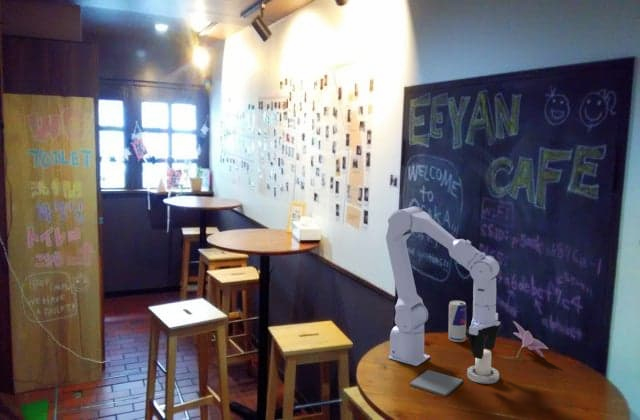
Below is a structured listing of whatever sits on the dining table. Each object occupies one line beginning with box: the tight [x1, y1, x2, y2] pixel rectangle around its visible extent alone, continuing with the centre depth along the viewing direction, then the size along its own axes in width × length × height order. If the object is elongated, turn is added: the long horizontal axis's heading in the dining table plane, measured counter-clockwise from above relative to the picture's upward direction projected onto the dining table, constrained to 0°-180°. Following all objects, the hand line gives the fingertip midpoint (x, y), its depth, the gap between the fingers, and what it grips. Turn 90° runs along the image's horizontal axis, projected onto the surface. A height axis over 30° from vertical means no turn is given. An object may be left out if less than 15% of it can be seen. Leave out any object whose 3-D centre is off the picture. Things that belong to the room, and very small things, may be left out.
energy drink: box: [447, 299, 467, 343], centre depth 166 cm, size 5×5×12 cm
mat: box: [409, 369, 464, 397], centre depth 136 cm, size 10×10×1 cm
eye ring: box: [466, 365, 500, 385], centre depth 139 cm, size 8×8×2 cm
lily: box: [512, 320, 549, 359], centre depth 152 cm, size 12×12×10 cm
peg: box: [474, 348, 492, 376], centre depth 139 cm, size 4×4×7 cm
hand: (483, 353), depth 139 cm, fingers open, 7 cm apart
